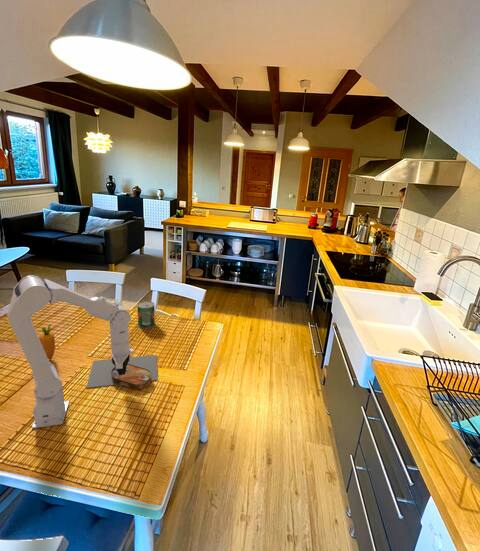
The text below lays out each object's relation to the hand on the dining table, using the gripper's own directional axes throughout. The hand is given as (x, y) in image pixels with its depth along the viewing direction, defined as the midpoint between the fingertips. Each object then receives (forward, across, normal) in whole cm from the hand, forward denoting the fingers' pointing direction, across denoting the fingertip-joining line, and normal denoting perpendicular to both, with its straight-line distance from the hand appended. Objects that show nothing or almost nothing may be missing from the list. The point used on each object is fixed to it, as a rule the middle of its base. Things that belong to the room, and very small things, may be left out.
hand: (122, 373), depth 108 cm
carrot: (+6, +21, +28) cm, 36 cm away
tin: (+4, -1, 0) cm, 4 cm away
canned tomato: (+6, +44, -8) cm, 45 cm away
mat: (+5, +9, 0) cm, 11 cm away
